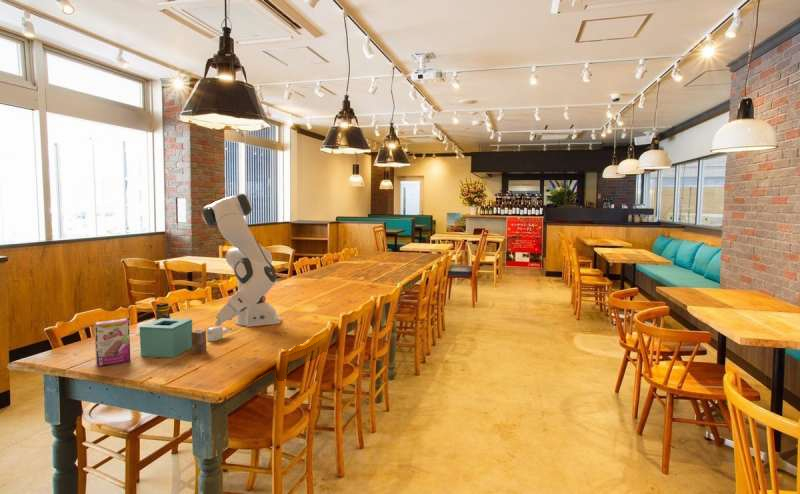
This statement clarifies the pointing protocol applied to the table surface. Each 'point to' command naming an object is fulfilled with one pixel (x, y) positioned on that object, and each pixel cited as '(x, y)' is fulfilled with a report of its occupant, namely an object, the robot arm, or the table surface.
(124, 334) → the candy bar box
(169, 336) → the teal coin box
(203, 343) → the walnut block
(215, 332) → the power adapter
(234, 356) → the table surface
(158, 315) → the condiment
